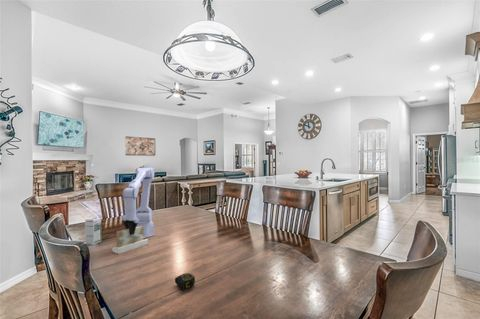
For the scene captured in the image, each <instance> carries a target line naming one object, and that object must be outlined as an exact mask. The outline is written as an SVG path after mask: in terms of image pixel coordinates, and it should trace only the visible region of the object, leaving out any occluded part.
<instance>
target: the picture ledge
mask: <svg viewBox="0 0 480 319" xmlns="http://www.w3.org/2000/svg"><path fill="white" fill-rule="evenodd" d="M148 245H149V239H148V238H144V239H143V240H142V241H139V242H135V243H134V242H133V243H132V244H129V245H125V246H122V247H117V246H115V247H112V250H111V252H112V253H115V254H117V255H120V254H124V253H126V252H130V251H133V250H136V249H139V248H142V247H145V246H148Z"/></svg>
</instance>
